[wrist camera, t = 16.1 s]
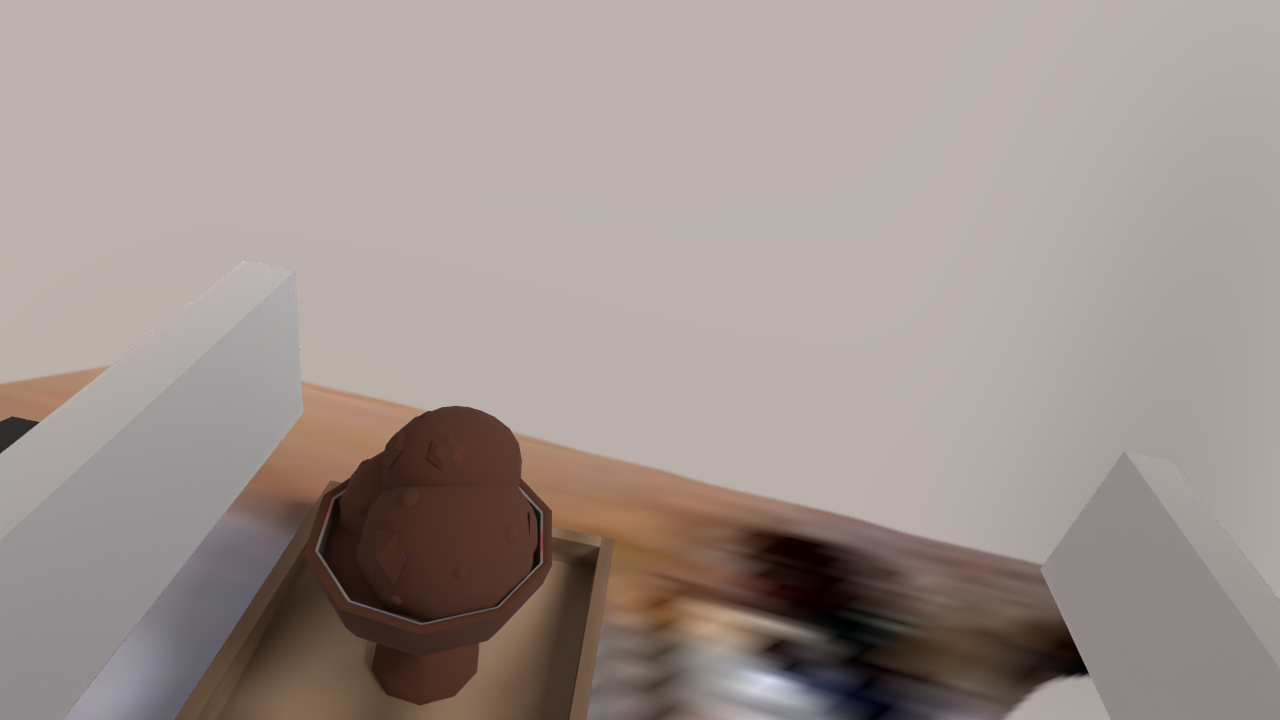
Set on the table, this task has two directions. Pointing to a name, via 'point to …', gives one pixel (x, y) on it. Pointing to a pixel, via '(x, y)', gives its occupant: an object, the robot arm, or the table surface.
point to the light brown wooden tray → (341, 662)
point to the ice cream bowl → (432, 549)
